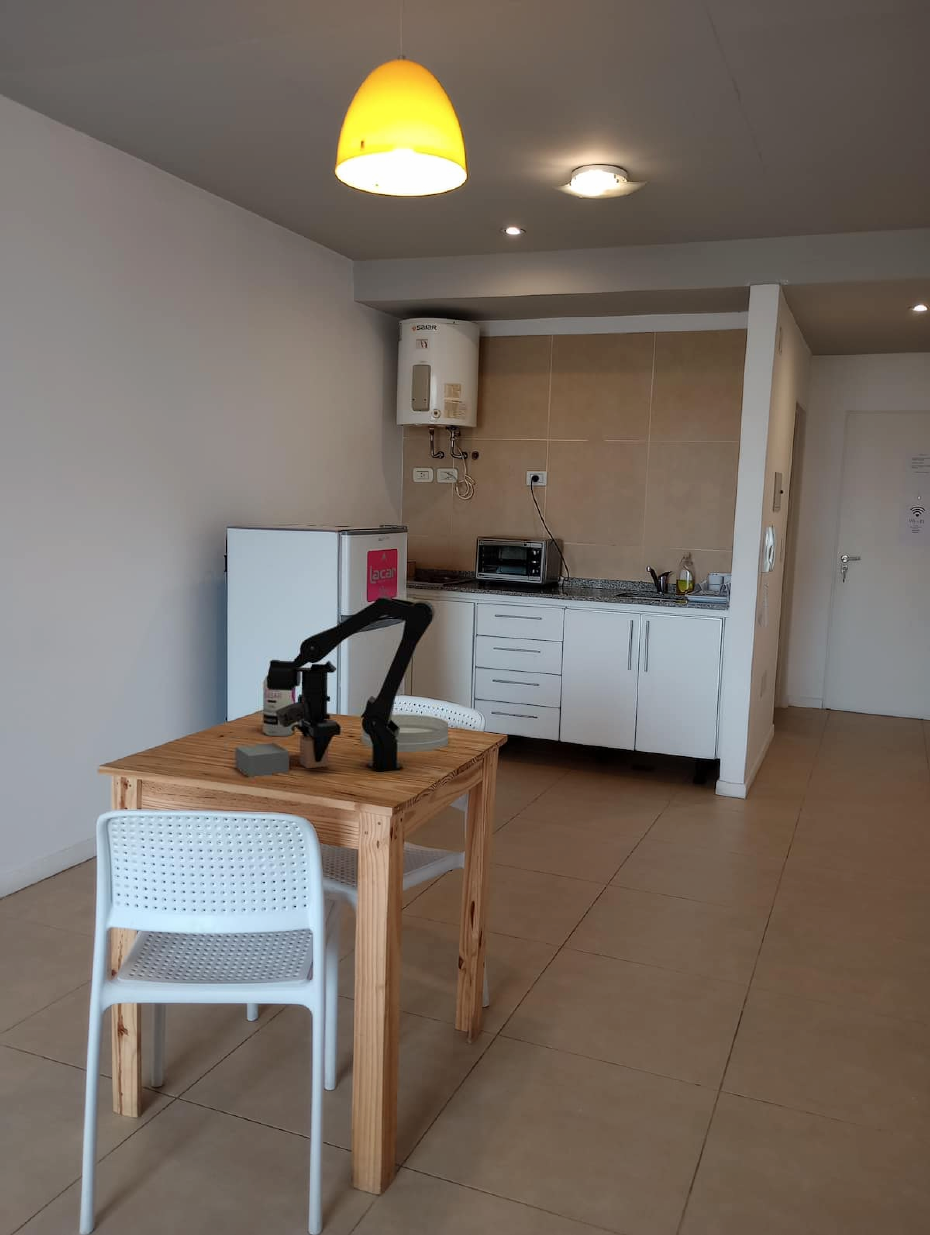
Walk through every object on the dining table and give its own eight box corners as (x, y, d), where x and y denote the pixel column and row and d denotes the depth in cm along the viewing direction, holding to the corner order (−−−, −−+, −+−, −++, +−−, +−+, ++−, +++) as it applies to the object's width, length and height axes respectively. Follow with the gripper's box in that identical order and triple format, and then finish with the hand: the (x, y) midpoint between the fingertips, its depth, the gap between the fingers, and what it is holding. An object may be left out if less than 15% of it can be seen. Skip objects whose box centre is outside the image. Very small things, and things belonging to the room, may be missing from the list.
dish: (464, 739, 253) (464, 720, 252) (420, 757, 233) (421, 737, 233) (390, 729, 263) (391, 711, 262) (343, 745, 243) (343, 725, 243)
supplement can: (295, 729, 258) (295, 673, 257) (295, 736, 250) (295, 678, 249) (263, 730, 257) (263, 673, 255) (262, 737, 249) (262, 679, 247)
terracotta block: (328, 766, 222) (328, 740, 221) (306, 768, 219) (306, 741, 219) (320, 761, 226) (321, 735, 225) (299, 763, 224) (300, 737, 223)
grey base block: (288, 773, 216) (288, 751, 215) (249, 778, 211) (249, 756, 210) (273, 764, 223) (273, 743, 223) (235, 769, 219) (235, 747, 218)
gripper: (267, 686, 225) (267, 753, 227) (292, 701, 209) (291, 772, 211) (314, 683, 231) (313, 749, 232) (341, 697, 214) (341, 767, 216)
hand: (314, 759), depth 222 cm, fingers closed on terracotta block, 5 cm apart
